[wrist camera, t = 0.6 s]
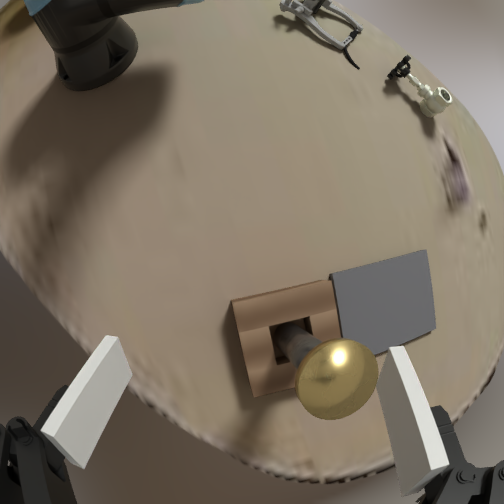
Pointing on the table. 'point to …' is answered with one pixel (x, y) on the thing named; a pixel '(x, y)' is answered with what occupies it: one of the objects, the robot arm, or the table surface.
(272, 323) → the eye block
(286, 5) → the bike brake
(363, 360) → the brass topped pillar
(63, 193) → the table surface
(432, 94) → the valve
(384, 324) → the mat
